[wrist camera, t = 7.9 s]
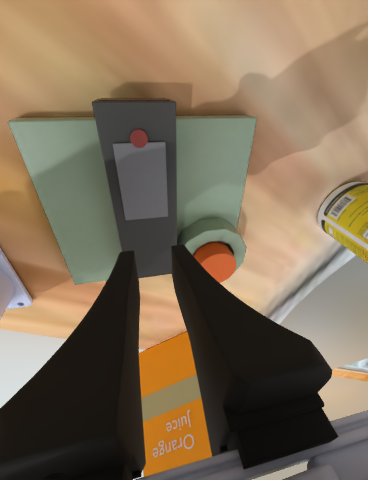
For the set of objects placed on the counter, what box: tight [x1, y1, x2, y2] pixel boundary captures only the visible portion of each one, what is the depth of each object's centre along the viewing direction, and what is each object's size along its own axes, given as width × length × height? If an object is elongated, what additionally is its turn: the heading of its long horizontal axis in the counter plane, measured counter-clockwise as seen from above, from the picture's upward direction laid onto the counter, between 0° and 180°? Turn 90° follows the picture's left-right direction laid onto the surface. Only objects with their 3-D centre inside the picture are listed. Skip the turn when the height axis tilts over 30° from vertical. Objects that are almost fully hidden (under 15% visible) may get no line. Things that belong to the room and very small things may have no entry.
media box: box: [8, 115, 257, 285], centre depth 18 cm, size 16×14×4 cm
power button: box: [194, 242, 236, 283], centre depth 19 cm, size 4×4×2 cm
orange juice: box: [139, 332, 212, 477], centre depth 27 cm, size 8×9×20 cm
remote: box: [92, 98, 177, 278], centre depth 16 cm, size 13×4×3 cm, turn 179°
